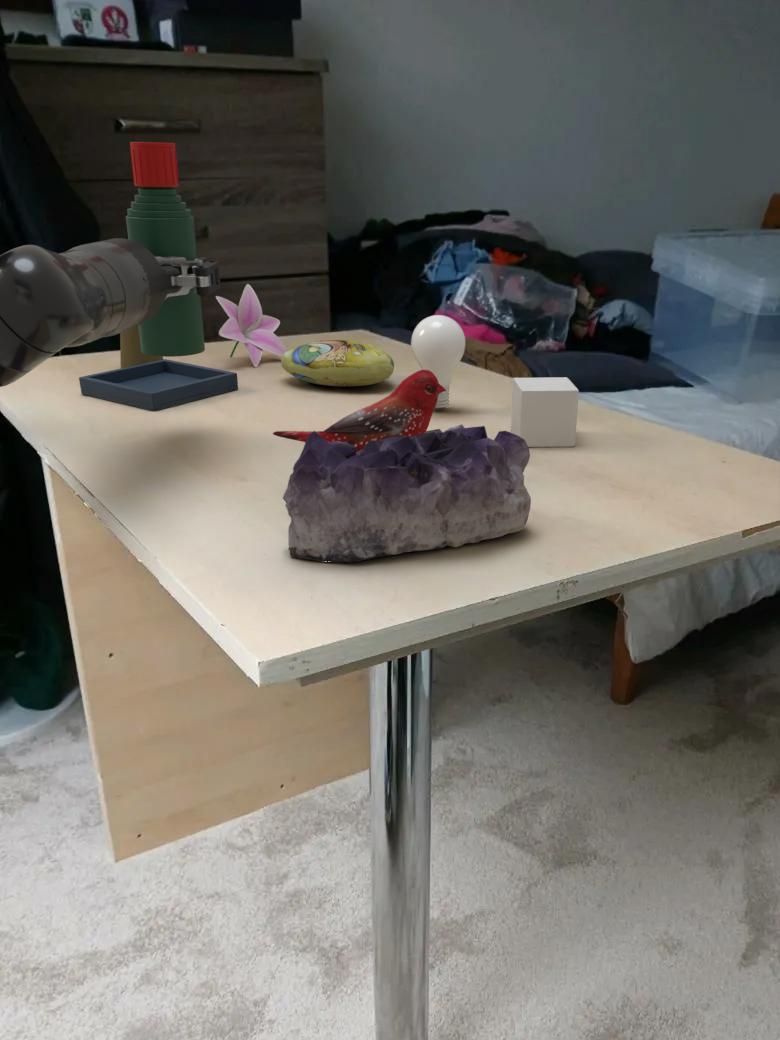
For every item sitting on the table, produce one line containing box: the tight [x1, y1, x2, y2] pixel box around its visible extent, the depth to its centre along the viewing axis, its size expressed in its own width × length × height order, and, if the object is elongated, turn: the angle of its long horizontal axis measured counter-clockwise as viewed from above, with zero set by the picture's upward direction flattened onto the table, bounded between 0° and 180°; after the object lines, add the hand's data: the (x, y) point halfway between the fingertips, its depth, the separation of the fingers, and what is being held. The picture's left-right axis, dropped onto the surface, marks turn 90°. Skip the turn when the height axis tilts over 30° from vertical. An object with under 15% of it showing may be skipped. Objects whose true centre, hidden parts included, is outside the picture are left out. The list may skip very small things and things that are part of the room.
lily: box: [215, 283, 287, 368], centre depth 135 cm, size 12×12×10 cm
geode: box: [282, 423, 532, 564], centre depth 75 cm, size 20×12×10 cm, turn 119°
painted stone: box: [280, 339, 395, 388], centre depth 123 cm, size 11×8×15 cm
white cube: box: [510, 376, 580, 448], centre depth 101 cm, size 6×6×6 cm
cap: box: [129, 141, 180, 188], centre depth 90 cm, size 4×4×4 cm
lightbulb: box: [410, 314, 467, 412], centre depth 110 cm, size 6×6×11 cm
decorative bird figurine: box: [272, 369, 446, 452], centre depth 86 cm, size 3×18×10 cm, turn 122°
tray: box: [78, 358, 239, 412], centre depth 119 cm, size 14×14×2 cm
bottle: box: [125, 186, 206, 358], centre depth 94 cm, size 6×6×19 cm
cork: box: [119, 326, 165, 369], centre depth 128 cm, size 6×6×11 cm
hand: (173, 267), depth 97 cm, fingers closed on bottle, 6 cm apart
